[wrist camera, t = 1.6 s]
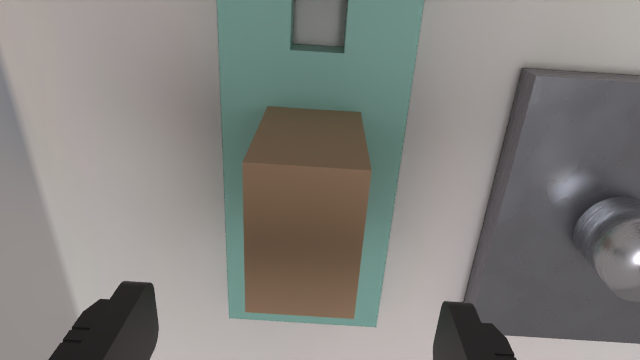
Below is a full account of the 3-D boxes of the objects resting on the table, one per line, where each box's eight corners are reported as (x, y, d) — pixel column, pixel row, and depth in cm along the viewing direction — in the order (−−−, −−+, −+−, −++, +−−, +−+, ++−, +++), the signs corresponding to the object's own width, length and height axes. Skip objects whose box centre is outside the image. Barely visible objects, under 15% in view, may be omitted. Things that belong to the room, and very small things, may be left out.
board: (223, -54, 18) (158, -62, 11) (422, -41, 18) (476, -41, 11) (234, 299, 26) (199, 418, 19) (373, 308, 26) (388, 430, 19)
